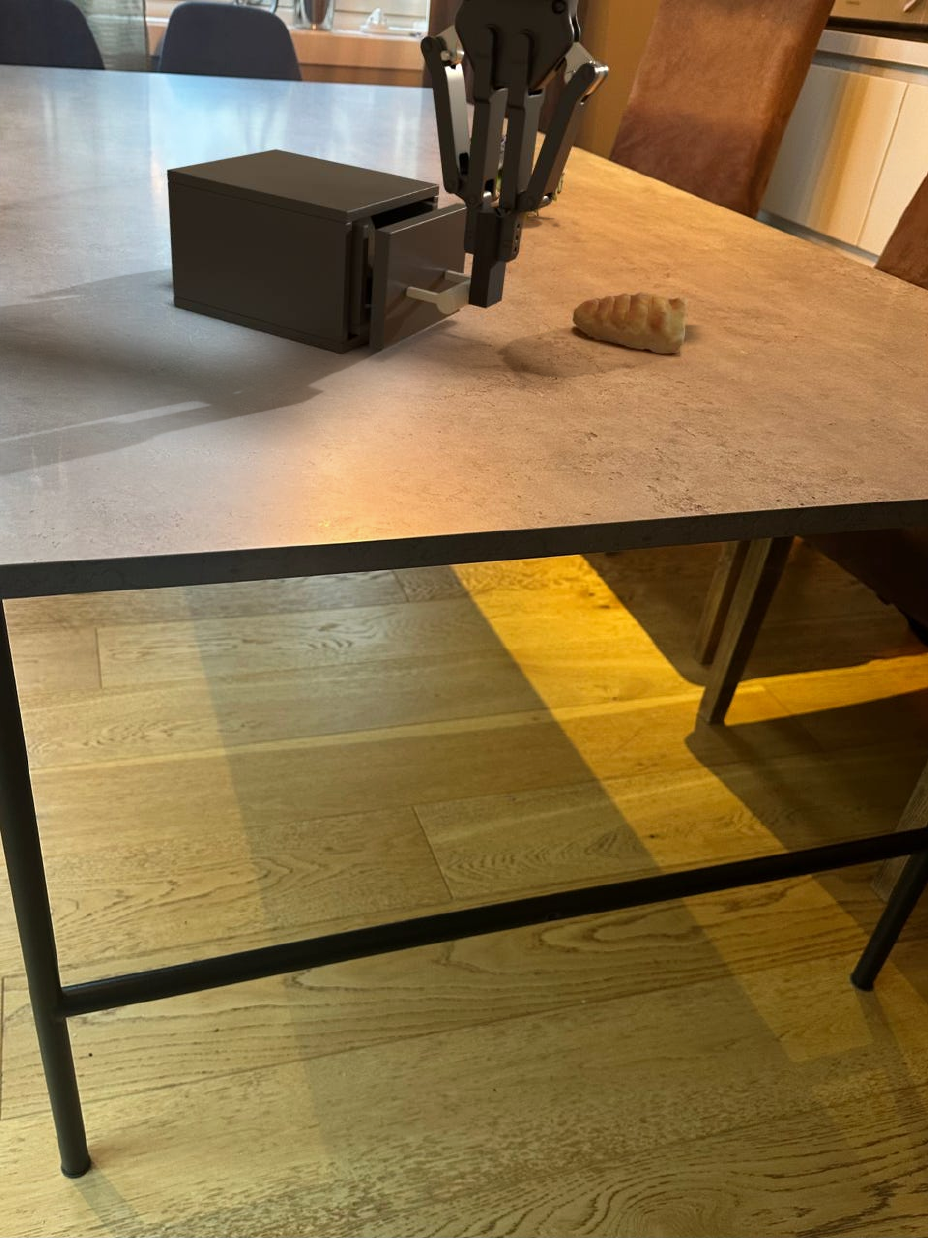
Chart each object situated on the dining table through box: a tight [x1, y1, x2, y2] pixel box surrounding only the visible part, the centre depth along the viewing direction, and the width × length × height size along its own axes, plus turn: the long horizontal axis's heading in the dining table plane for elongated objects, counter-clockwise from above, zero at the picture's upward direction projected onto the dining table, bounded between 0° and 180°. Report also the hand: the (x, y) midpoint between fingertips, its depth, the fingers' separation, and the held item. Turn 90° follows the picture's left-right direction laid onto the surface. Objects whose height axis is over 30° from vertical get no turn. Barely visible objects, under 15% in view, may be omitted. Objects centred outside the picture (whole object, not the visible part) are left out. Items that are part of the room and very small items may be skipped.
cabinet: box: [166, 148, 441, 354], centre depth 82 cm, size 16×14×10 cm
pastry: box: [572, 291, 688, 354], centre depth 86 cm, size 9×7×4 cm
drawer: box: [348, 200, 471, 351], centre depth 81 cm, size 19×12×8 cm, turn 63°
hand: (485, 301), depth 78 cm, fingers closed
